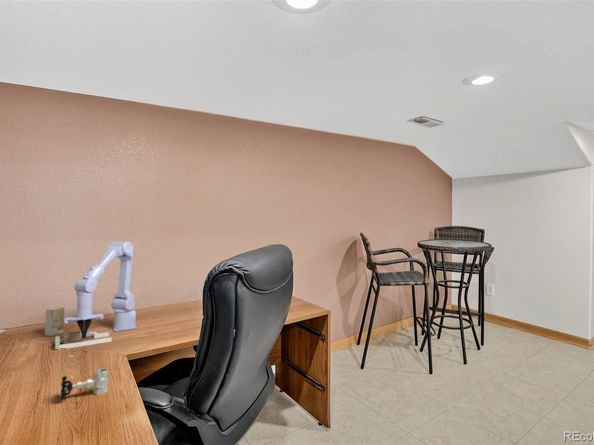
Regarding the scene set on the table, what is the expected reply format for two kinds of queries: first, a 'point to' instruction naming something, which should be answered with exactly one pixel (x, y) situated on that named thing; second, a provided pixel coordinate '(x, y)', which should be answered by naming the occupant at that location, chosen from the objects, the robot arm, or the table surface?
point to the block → (72, 337)
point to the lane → (88, 335)
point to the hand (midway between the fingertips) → (83, 337)
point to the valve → (88, 383)
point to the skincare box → (54, 321)
